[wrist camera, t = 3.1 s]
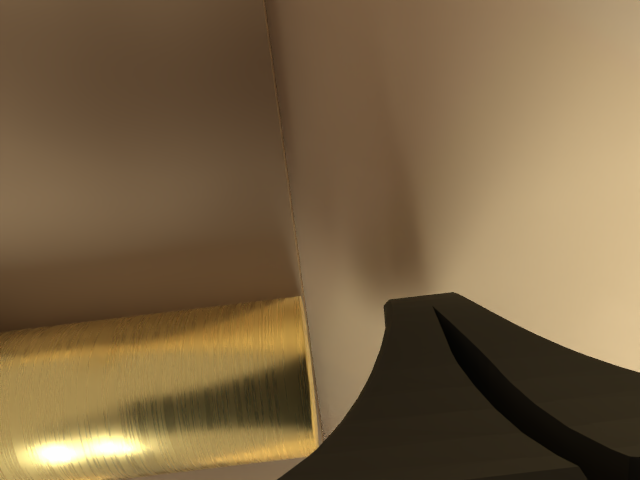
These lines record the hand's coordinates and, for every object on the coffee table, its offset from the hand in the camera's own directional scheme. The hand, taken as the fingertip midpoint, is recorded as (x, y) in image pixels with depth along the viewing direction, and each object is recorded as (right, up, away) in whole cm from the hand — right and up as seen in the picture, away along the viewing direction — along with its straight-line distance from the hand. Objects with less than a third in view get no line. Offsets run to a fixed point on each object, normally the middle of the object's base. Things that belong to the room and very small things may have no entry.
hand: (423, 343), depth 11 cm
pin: (-7, -1, +1) cm, 7 cm away
